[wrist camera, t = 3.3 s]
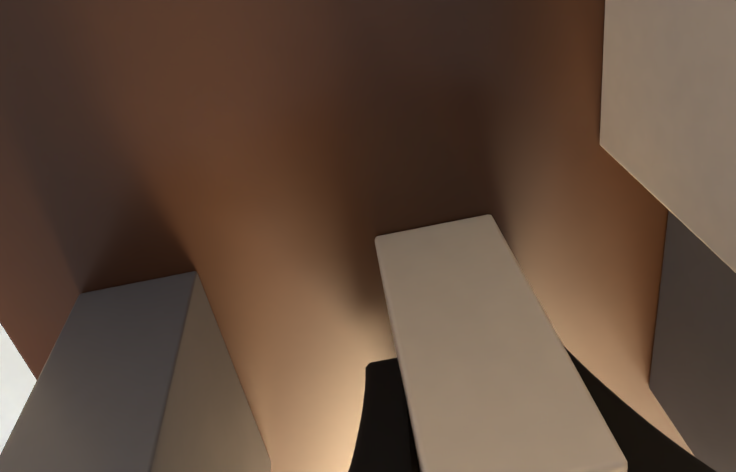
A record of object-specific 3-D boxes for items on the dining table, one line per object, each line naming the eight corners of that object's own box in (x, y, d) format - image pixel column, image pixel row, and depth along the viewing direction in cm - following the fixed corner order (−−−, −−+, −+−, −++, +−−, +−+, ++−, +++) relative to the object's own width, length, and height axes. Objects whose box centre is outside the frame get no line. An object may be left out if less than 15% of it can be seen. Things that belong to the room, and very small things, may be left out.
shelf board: (173, 554, 19) (167, 588, 18) (-279, -202, 9) (-342, -208, 8) (755, 440, 19) (777, 468, 18) (988, -453, 9) (1065, -487, 8)
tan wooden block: (411, 434, 15) (468, 717, 10) (373, 234, 12) (428, 502, 7) (505, 415, 15) (608, 689, 10) (491, 211, 12) (631, 463, 7)
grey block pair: (177, 479, 15) (120, 785, 10) (78, 292, 12) (-75, 601, 7) (741, 369, 15) (960, 621, 10) (788, 153, 12) (1139, 364, 7)
